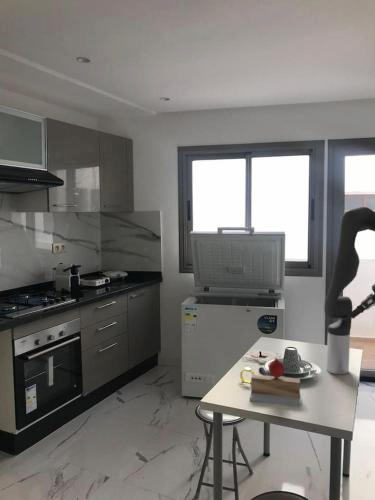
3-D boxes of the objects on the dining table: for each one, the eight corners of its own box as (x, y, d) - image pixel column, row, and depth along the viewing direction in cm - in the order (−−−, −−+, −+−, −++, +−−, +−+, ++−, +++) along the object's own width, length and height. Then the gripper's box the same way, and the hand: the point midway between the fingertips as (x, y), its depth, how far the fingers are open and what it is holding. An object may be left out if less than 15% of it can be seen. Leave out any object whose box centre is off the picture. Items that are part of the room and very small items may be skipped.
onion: (286, 377, 165) (286, 356, 164) (281, 382, 160) (282, 361, 159) (271, 374, 168) (271, 354, 167) (266, 379, 163) (266, 358, 162)
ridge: (252, 389, 168) (252, 374, 167) (299, 394, 163) (299, 378, 163) (251, 392, 165) (251, 377, 164) (299, 398, 160) (299, 382, 159)
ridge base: (253, 387, 172) (253, 384, 172) (299, 392, 168) (299, 389, 167) (249, 400, 161) (249, 397, 161) (299, 406, 156) (299, 403, 156)
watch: (255, 383, 178) (256, 369, 177) (252, 385, 175) (253, 371, 174) (241, 379, 181) (242, 365, 180) (239, 381, 178) (240, 367, 177)
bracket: (274, 370, 192) (274, 364, 191) (291, 383, 178) (291, 377, 177) (245, 374, 188) (245, 368, 187) (260, 388, 174) (260, 381, 173)
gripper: (386, 275, 156) (352, 302, 164) (377, 281, 144) (341, 309, 152) (401, 291, 153) (366, 318, 161) (393, 298, 142) (356, 326, 150)
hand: (354, 313), depth 157 cm, fingers open, 8 cm apart
